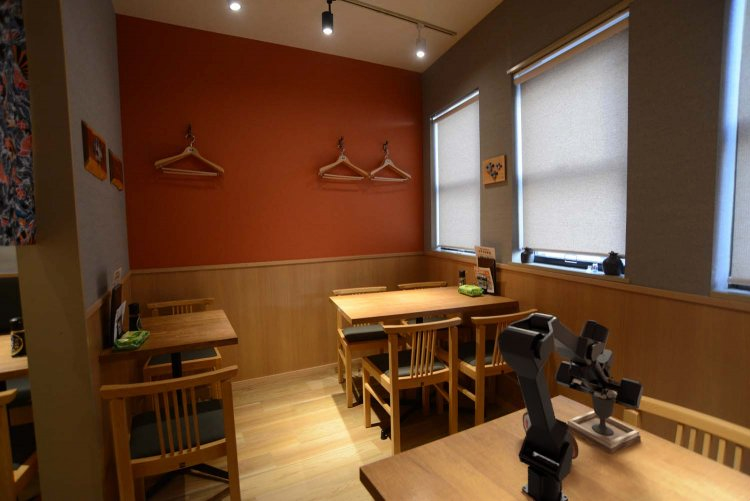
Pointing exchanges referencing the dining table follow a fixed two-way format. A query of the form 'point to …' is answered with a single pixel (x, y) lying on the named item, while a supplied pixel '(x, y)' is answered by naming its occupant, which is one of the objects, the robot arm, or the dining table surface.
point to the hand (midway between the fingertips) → (604, 397)
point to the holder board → (611, 443)
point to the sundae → (603, 409)
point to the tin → (573, 441)
